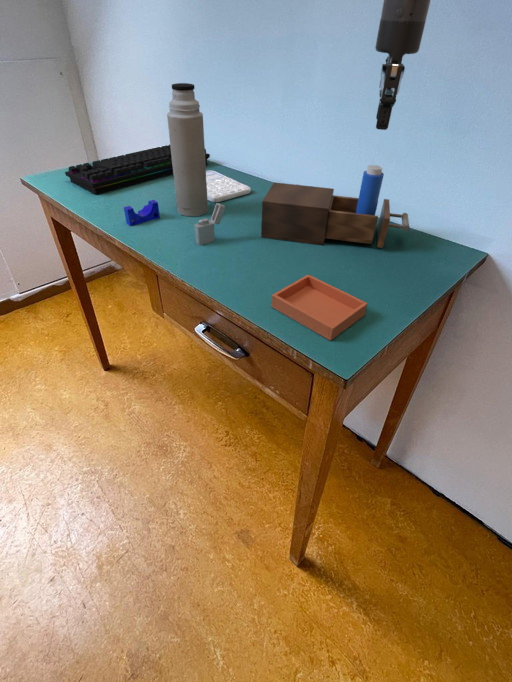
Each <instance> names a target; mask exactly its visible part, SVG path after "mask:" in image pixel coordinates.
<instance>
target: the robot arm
mask: <svg viewBox="0 0 512 682" xmlns="http://www.w3.org/2000/svg"><path fill="white" fill-rule="evenodd" d="M430 4H431V0H383V3H382V8H381V13H380V19H379V26H378V30H377V36H376V41H375V47H374V48H375V49H374V50H375V51H376V52H378V53H382V54H388V55H387V57H386V58H385V63H382V64H381V69H380V81H379V86H378V87H379V91H378V93H379V95H378V96H379V102H378V106H377V111H376V117H375V119H376V123H375V129H376V130H382V131H387V130H388V129H389V125H390V121H391V115H392V111H393V108H394V106H395V105H396V104H395V103H397V99H396V98H397V95H398V94H399V92H400V89H401V83H402V79H403V78H404V75H405V70H406V66H405V64H404V63H402V62H403V57H405V55H414V54H417V53H418V52H419V51H420V47H421V43H422V40H423V34H424V30H425V26H426V22H427V17H428V13H429V9H430Z"/></svg>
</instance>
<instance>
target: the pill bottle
mask: <svg viewBox="0 0 512 682" xmlns="http://www.w3.org/2000/svg"><path fill="white" fill-rule="evenodd" d="M382 170H383V167H382V166H380V165H376V164H371V165H368V166H367V169H366V170H364V171H363V174H362V177H361V178H362V179H361V183H360V189H359V195H358V198H359V199H358V204H357V209H356V213H359V214H367V215H376V213H375V211H376V212H377V209H376V207H377V208H378V204H377V202H378V203H379V197H380V194H381V188H382V185H383V180H384V175H385V174H384V172H382Z"/></svg>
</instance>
